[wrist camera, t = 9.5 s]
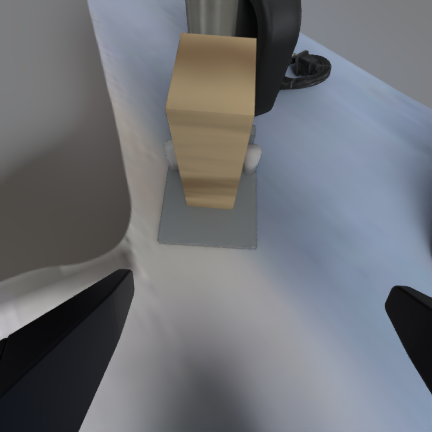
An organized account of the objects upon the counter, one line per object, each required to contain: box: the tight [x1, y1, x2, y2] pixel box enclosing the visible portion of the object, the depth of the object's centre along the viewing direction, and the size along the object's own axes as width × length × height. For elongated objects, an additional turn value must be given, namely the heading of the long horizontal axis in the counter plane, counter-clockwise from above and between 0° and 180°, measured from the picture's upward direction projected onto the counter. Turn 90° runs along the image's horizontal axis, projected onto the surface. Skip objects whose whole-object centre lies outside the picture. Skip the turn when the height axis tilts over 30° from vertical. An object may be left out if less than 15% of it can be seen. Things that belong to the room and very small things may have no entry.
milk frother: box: [185, 0, 332, 117], centre depth 24 cm, size 14×16×15 cm
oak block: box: [165, 33, 256, 210], centre depth 18 cm, size 6×4×12 cm
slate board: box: [157, 125, 262, 249], centre depth 23 cm, size 12×9×4 cm
